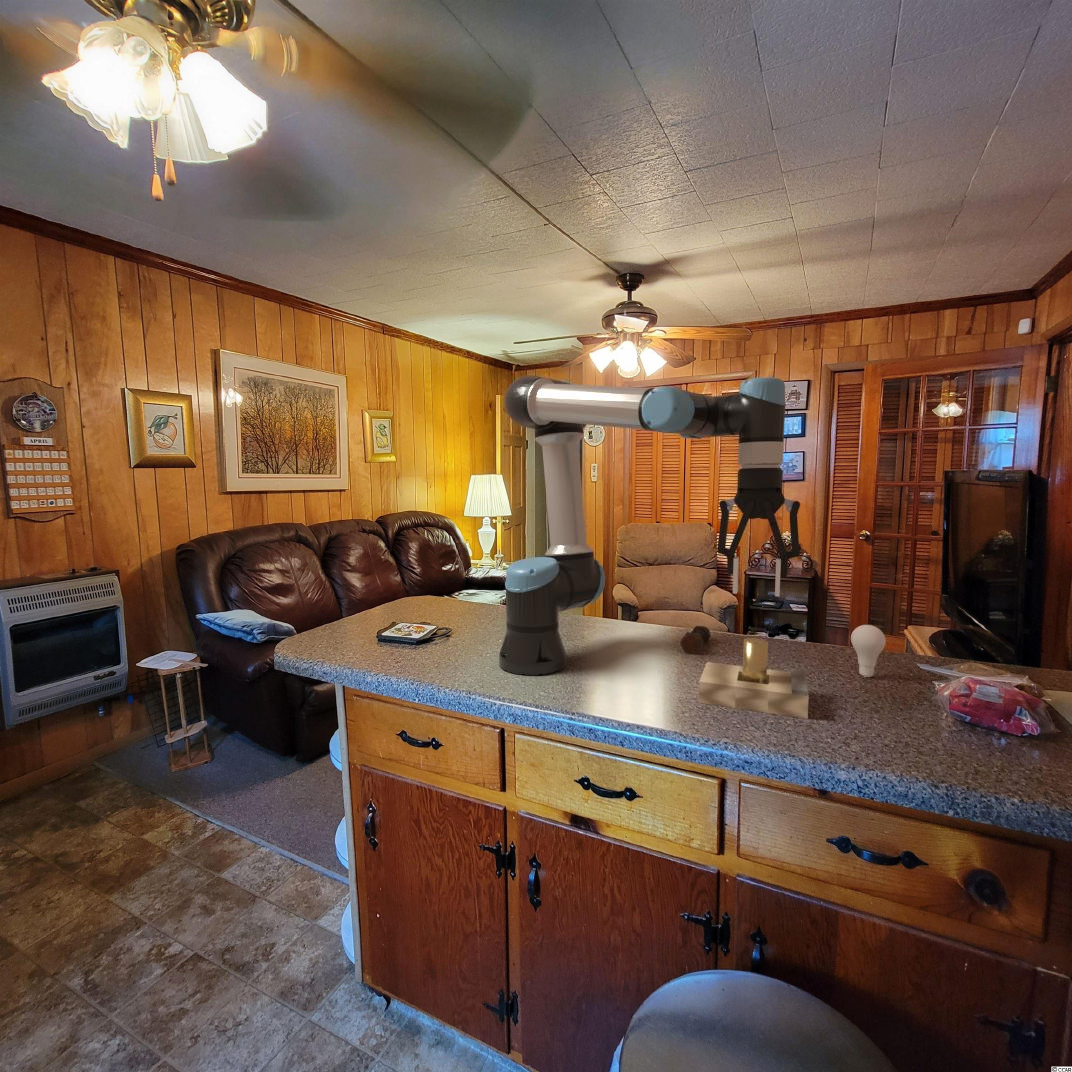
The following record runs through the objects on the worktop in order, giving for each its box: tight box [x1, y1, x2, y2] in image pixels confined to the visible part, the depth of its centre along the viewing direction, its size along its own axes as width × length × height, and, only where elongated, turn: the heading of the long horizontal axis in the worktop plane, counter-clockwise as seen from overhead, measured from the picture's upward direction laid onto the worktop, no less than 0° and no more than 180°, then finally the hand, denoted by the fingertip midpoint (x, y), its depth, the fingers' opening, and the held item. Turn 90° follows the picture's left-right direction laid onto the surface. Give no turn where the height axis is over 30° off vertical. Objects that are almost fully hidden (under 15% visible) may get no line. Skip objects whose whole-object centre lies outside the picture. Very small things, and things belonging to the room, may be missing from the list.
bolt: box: [679, 625, 711, 656], centre depth 136 cm, size 6×5×15 cm
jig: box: [698, 661, 809, 720], centre depth 103 cm, size 18×12×5 cm, turn 66°
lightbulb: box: [850, 624, 887, 678], centre depth 113 cm, size 6×6×11 cm
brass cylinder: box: [742, 637, 769, 684], centre depth 102 cm, size 4×4×11 cm
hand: (756, 593), depth 101 cm, fingers open, 6 cm apart
